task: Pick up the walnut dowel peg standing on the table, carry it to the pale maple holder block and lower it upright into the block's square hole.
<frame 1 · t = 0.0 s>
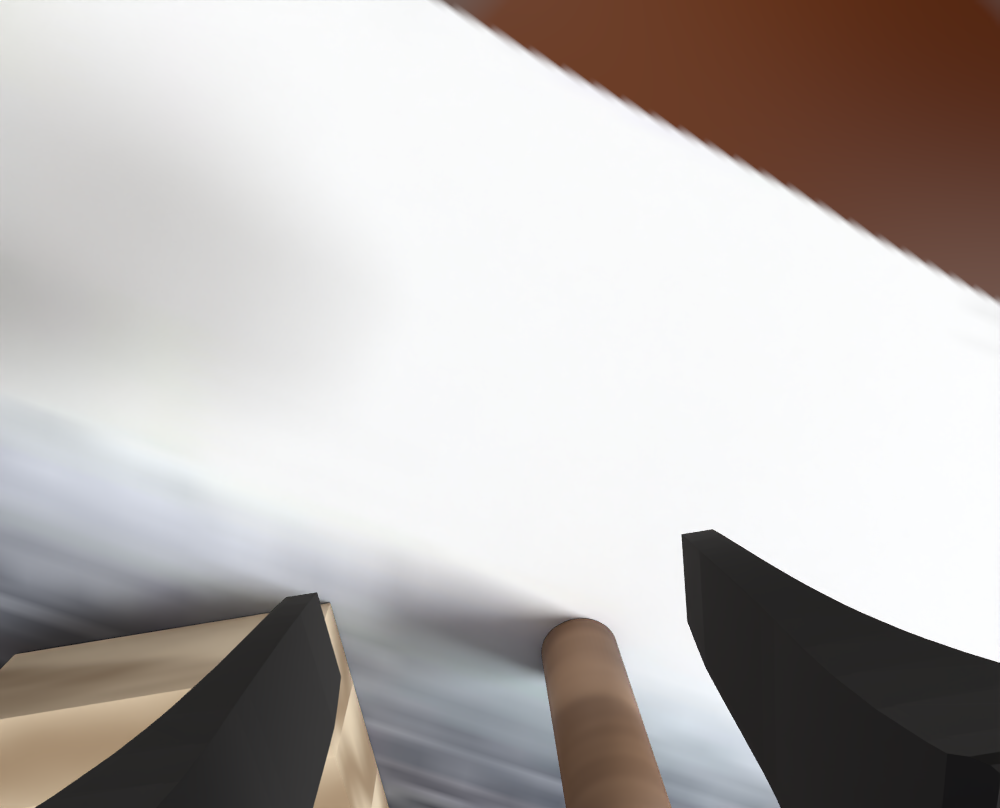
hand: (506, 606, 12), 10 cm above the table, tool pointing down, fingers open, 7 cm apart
peg: (579, 650, 25), on the table
holder block: (219, 750, 26), on the table
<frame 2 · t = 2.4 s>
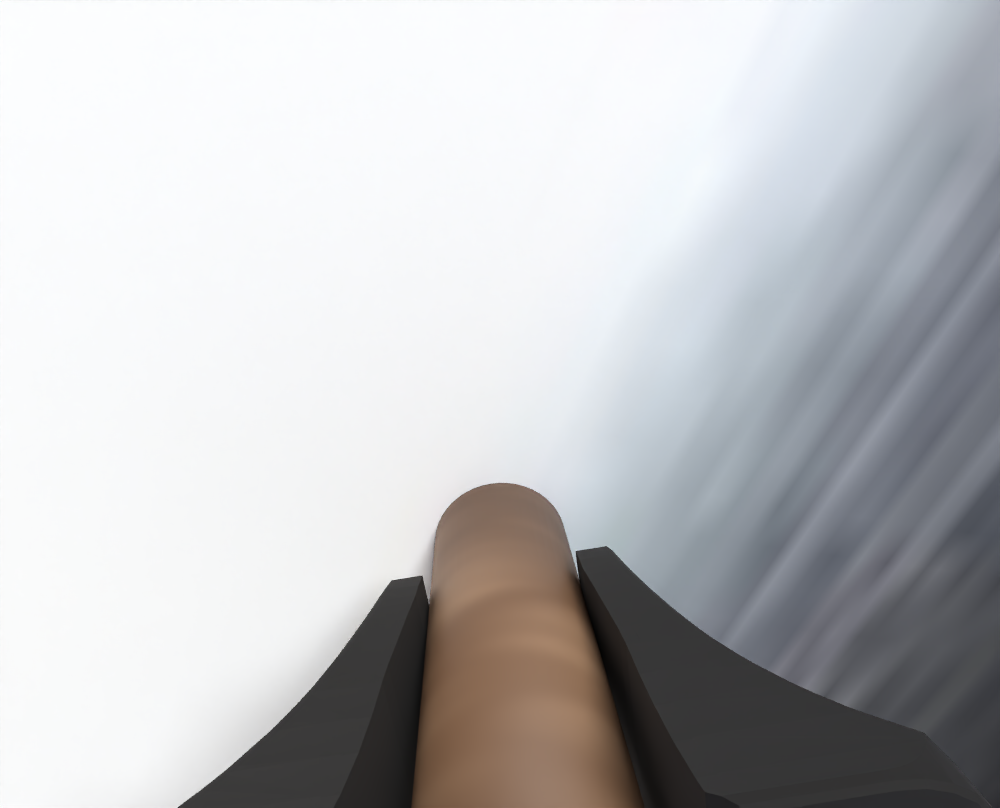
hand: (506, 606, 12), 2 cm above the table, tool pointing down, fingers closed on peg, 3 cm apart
peg: (500, 542, 15), on the table, touching gripper
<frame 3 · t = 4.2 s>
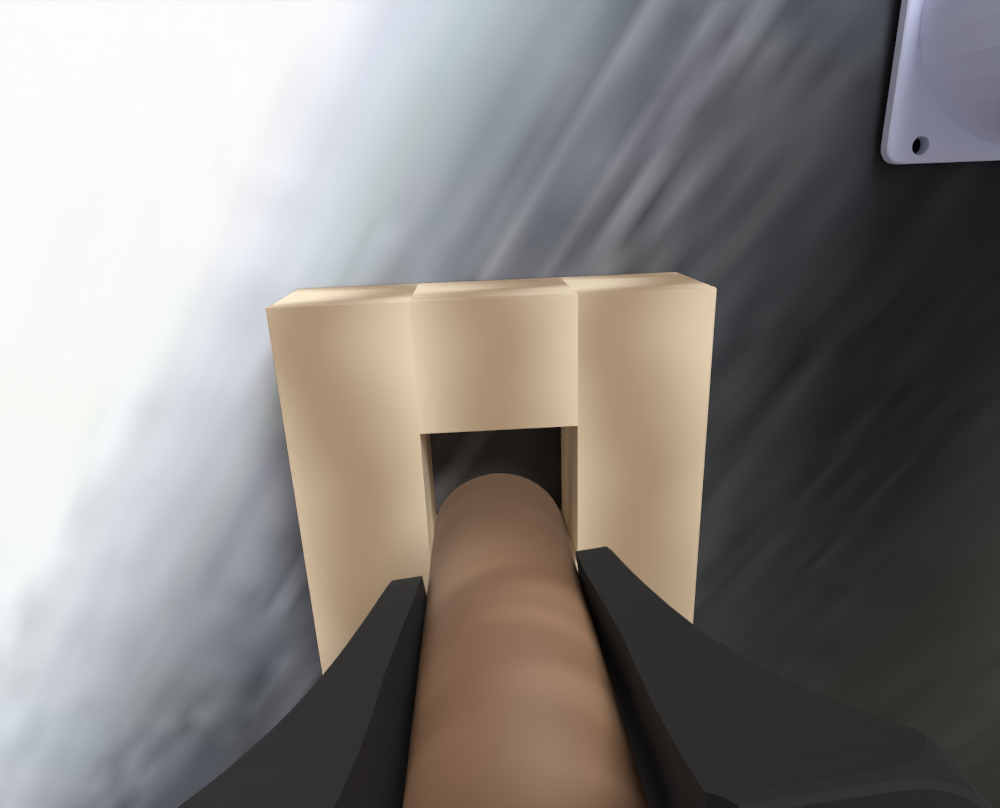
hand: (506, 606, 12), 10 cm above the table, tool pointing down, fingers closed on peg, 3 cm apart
peg: (498, 533, 15), point 7 cm above the table, touching gripper
holder block: (496, 454, 22), on the table
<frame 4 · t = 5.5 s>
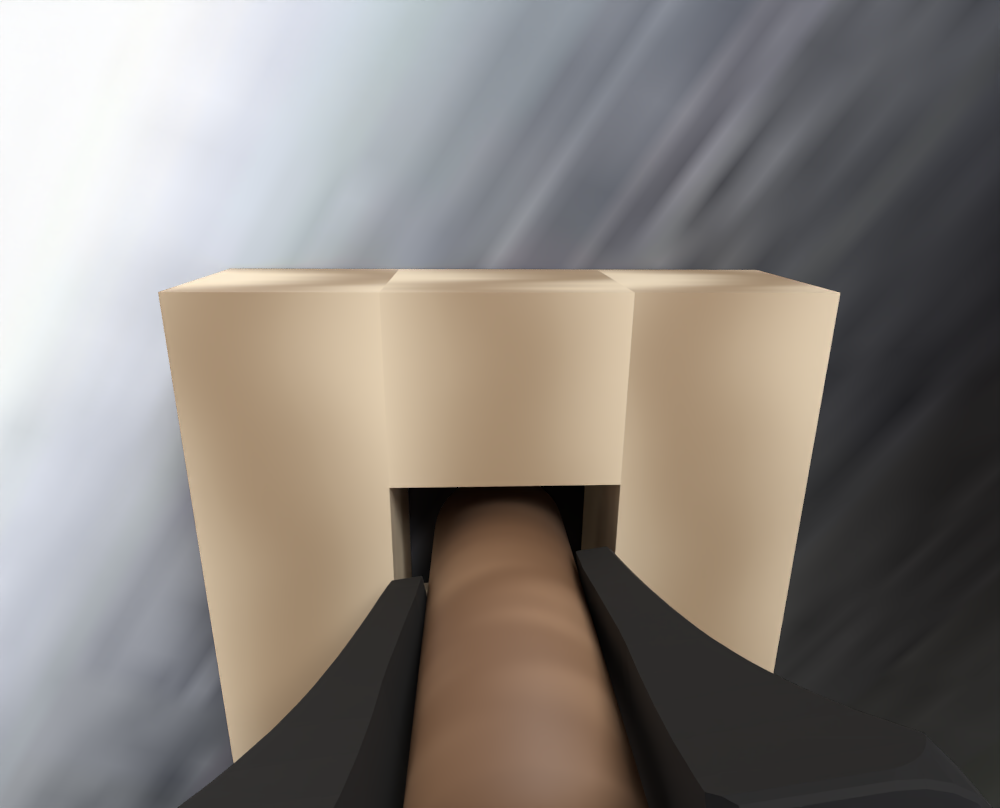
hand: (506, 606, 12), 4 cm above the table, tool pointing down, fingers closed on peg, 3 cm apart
peg: (499, 533, 15), point 2 cm above the table, touching gripper
holder block: (496, 506, 16), on the table
when the fingers open (4 cm above the table, at t = 6.1 s): peg drops 2 cm, resting in holder block.
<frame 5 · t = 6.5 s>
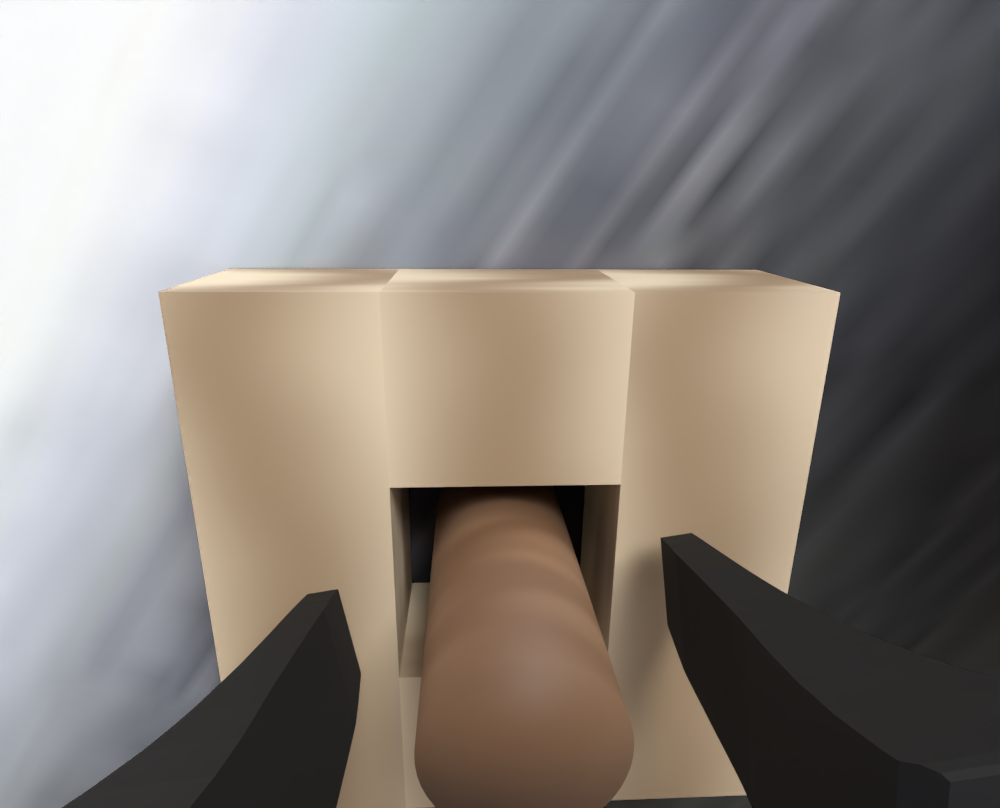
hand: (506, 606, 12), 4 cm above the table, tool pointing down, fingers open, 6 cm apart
peg: (496, 502, 16), resting in holder block
holder block: (497, 505, 16), on the table
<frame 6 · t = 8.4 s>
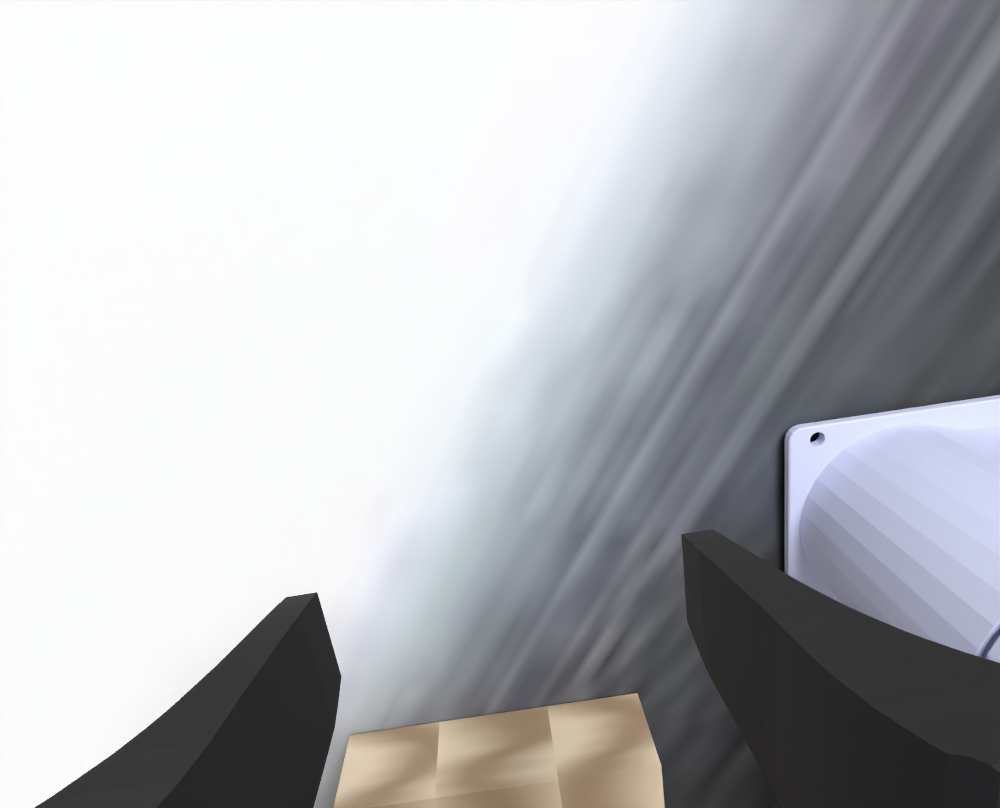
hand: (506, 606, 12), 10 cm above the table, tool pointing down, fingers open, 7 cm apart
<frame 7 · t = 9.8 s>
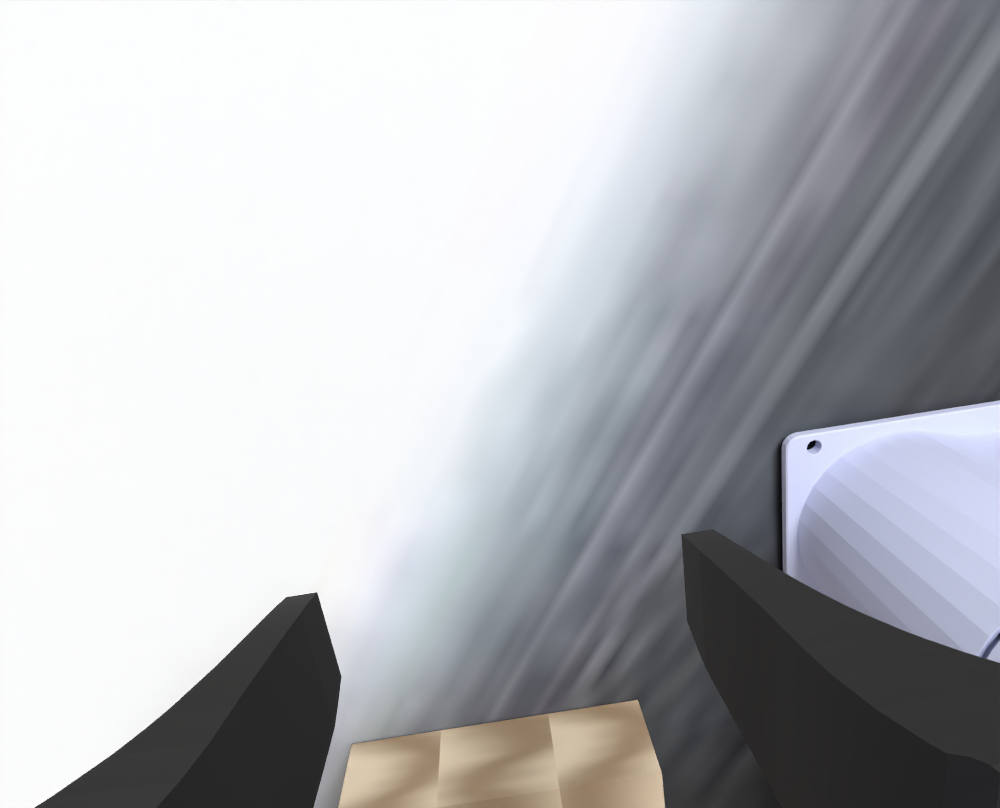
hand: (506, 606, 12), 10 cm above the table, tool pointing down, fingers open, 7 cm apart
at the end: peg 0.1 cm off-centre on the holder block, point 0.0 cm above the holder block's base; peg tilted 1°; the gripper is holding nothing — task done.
